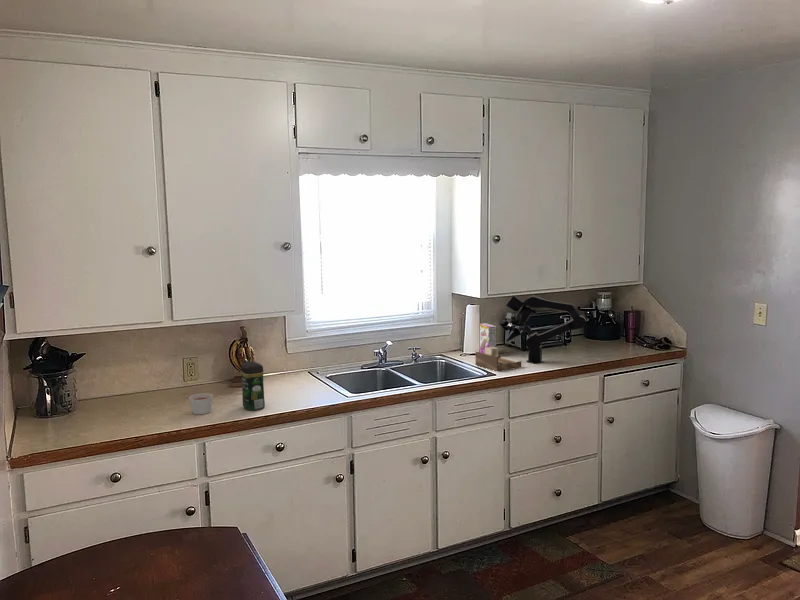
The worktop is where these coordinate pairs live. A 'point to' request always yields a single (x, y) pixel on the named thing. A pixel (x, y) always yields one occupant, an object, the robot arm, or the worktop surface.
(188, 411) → the worktop surface
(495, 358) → the trap box
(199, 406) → the candle
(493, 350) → the maple block
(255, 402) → the coffee jar
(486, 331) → the candy bar box
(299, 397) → the worktop surface
